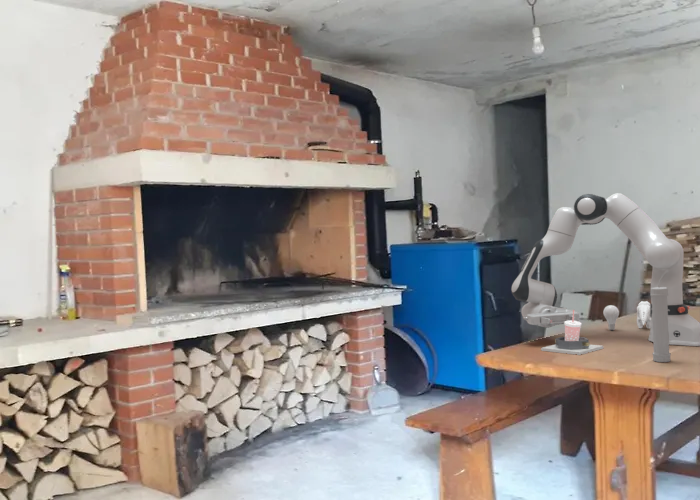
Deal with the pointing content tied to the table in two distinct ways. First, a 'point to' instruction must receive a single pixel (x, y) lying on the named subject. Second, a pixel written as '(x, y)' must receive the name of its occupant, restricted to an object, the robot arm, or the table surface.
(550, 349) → the base plate
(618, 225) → the robot arm
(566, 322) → the beverage cup
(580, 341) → the collar
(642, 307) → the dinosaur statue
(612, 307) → the lightbulb
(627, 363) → the table surface
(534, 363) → the table surface
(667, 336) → the pipe
